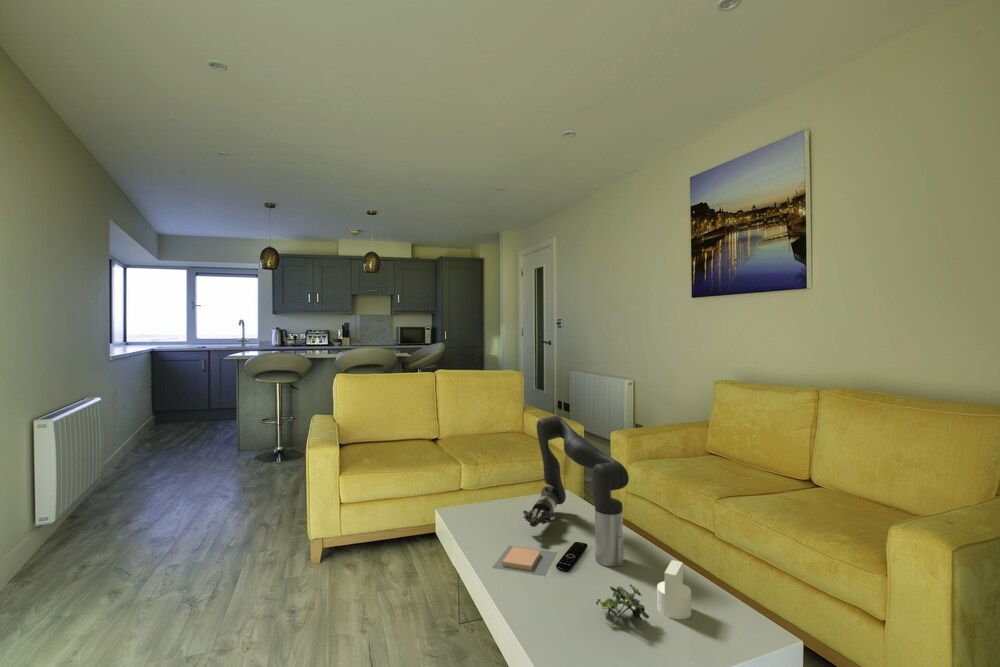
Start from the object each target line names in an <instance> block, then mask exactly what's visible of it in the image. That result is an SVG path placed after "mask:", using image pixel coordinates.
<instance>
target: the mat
mask: <svg viewBox="0 0 1000 667" xmlns="http://www.w3.org/2000/svg"><path fill="white" fill-rule="evenodd" d="M513 547H518V548H525V549H531V548H529V547H521V546H517V545H516V546H515V545H508V546H507V547H506V548H505V550H504V551H503V552H502V554H501V555H500V556H499V558H498V559H497V560H496V562H495V563H494V564H493V566H492V567H491V568H492V569H497V570H504V571H511V572H517V573H522V574H531V575H537V576H541V577H545V576H546V575H547V573H548V571H549V569H550V567H551V566H552V564H553V561H554V560H555V558H556V556H557V553H558V552H557V551H550V550H544V549H539V550H540V551H541V556H540V557H539V559H538V561H537V562H536V564H535V566H534V567H533V569H532V571H529V570H523V569H516V568H510V567H503V566H502V561H503V560H504V559H505V557H506V556H507V555H508V553H509V552H510V551H511V549H512V548H513ZM532 549H533V550H538V549H536V548H532Z"/></svg>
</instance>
